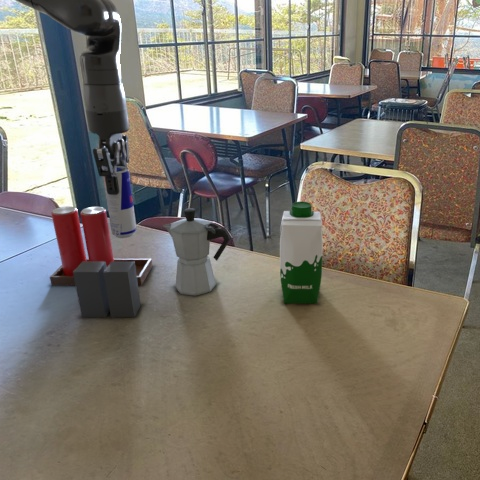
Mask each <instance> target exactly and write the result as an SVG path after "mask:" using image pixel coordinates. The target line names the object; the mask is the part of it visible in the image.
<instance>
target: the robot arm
mask: <svg viewBox="0 0 480 480" xmlns="http://www.w3.org/2000/svg"><path fill="white" fill-rule="evenodd" d="M15 1H16V2H18V3H20V4H22V5H24V6H26V7H28V8H31V9H33V10H35V11H37V12H39V13H42V14H45V15H46V16H48V17H49V18H51V20H53V21H56V22H57V23H58V24H60V25H61V26H63V27H64V28H66V29H68V30H70V31H72V32H74V33H76V34H79V35H81V36H85V49H84V50H83V51H82V52H80V54H79V58H78V59H79V67H80V74H81V81H82V94H83V102H84V103H83V104H84V109H85V114H86V121H87V126H88V127H87V128H88V131H89V133H91V134H94V135H97V136H98V142H97V147H93V148H92V155H93V158H94V161H95V166H96V169H97V173H98V177H102V178H103V177H105V181H106V188H107V193H108V194H109V195H117V194H118V193H119V186H118V179H117V166H124V167H127V168H128V164H129V163H130V151H129V149H130V148H129V136H128V134H124V133H127V132H128V131H129V130H130V122H129V115H128V107H127V100H126V99H127V98H126V93H125V90H124V86H123V85H124V84H123V78H122V77H123V76H122V70H121V64H120V54H121V43H122V41H121V40H122V23H121V18H120V17H121V16H120V13H119V10H118V8H117V6H116V4H115V3H114V2H113V0H15ZM107 169H108V170H107Z"/></svg>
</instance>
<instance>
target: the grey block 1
mask: <svg viewBox="0 0 480 480" xmlns="http://www.w3.org/2000/svg"><path fill="white" fill-rule="evenodd" d="M106 268H107V265H106V261H82V262H81V264H80V265H79V266H78V267H77V268H76V269H75V270H74V271H73V275H74V280H75V285H76V286H75V290H76V295H77V299H78V304H79V305H78V306H79V309H80V314H81V318H106V317H107V316H108V314H110V309H109V303H108V297H107V292H106V286H105V280H104V274H103V272H104V270H105V269H106Z"/></svg>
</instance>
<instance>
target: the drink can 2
mask: <svg viewBox="0 0 480 480" xmlns="http://www.w3.org/2000/svg"><path fill="white" fill-rule="evenodd" d="M80 219H81V224H82V231H83V235H84V241H85V247H86V252H87V258H88V259H89V261H106V265H107V266H108V265H109V264H110V262H111V261H114V259H115V258H114V252H113V246H112V239H111V235H110V234H111V233H110V227H109V221H108V215H107V210H106V208H105V207H103V206H90V207H86V208H85V207H84V208H83V209H82V210H81V211H80Z"/></svg>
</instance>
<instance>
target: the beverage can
mask: <svg viewBox="0 0 480 480" xmlns="http://www.w3.org/2000/svg"><path fill="white" fill-rule="evenodd" d="M107 170H108V169H107ZM102 178H103V186H104V192H105V198H106V204H107V212H108V219H109V224H110V230H111V234H112V235H113V236H114V237H115V238H118V239H127V238H131V237H133V236H134V235H135V234H136V233H137V222H136V214H135V207H134V198H133V192H132V183H131V176H130V171H129V167H128V166H127V167H124V166H117V179H118V186H119V193H118V194H117V195H109V194H108V193H107V188H106V181H105V177H103V176H102Z"/></svg>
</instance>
